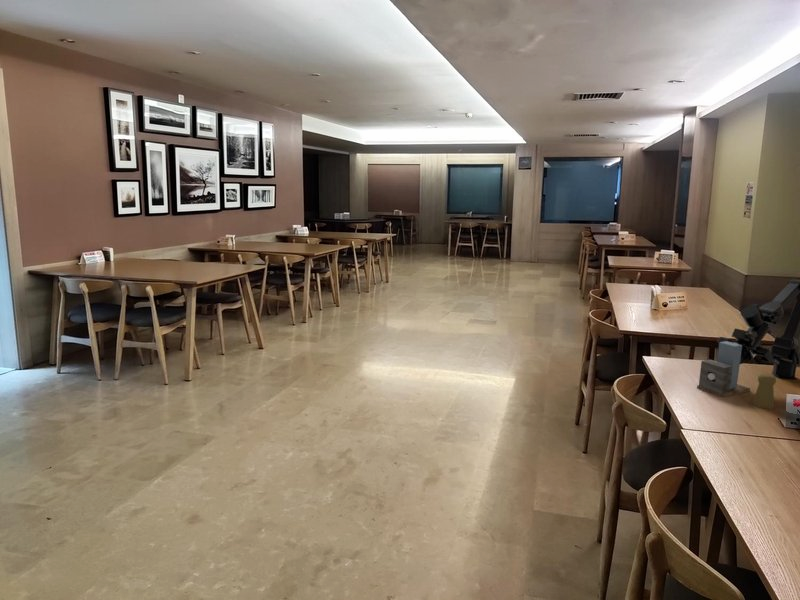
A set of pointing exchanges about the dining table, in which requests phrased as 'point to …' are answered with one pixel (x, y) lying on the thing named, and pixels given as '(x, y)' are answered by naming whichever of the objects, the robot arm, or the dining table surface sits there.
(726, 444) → the dining table surface
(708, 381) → the bearing stand
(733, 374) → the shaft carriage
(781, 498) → the dining table surface
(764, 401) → the olive flared post
